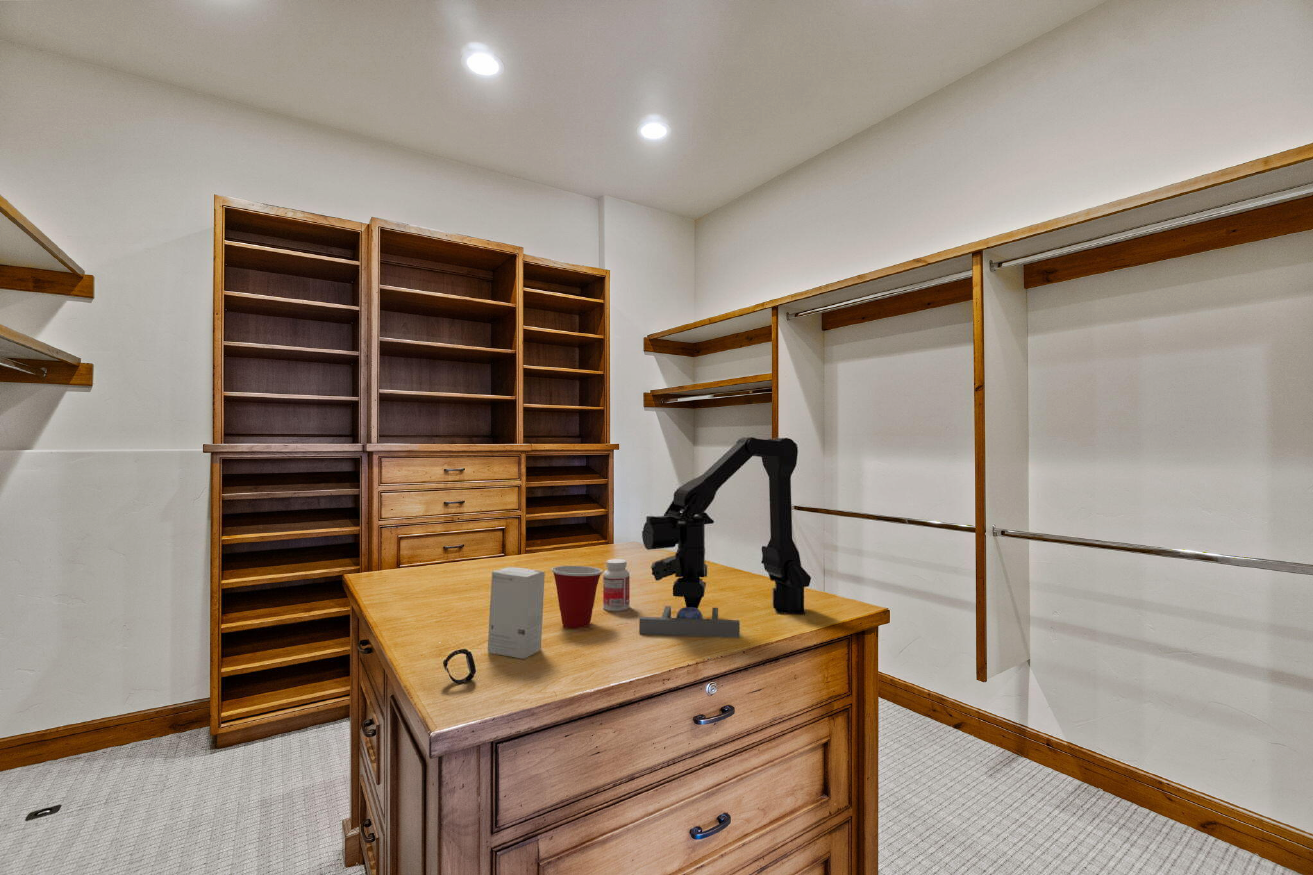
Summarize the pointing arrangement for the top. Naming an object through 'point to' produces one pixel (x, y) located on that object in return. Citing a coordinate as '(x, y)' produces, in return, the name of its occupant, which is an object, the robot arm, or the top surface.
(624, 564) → the pill bottle
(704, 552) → the robot arm
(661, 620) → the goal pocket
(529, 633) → the skincare box
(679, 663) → the top surface
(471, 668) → the smartwatch
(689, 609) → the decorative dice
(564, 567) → the plastic cup
